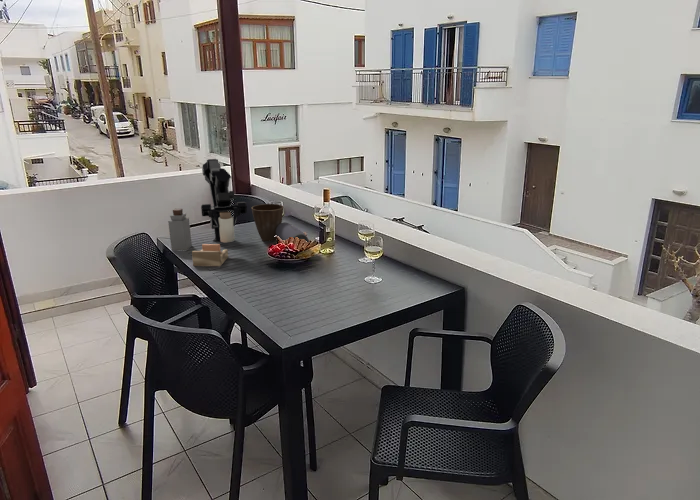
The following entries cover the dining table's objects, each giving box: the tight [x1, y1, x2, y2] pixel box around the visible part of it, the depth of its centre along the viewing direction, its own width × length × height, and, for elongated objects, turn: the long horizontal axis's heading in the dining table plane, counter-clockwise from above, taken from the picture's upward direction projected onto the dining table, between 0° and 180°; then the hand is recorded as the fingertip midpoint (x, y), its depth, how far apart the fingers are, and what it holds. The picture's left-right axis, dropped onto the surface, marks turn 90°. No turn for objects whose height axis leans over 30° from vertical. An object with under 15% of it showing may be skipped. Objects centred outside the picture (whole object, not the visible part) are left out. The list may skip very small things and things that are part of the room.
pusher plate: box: [201, 243, 222, 253], centre depth 195 cm, size 1×7×6 cm, turn 89°
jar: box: [218, 211, 236, 243], centre depth 198 cm, size 6×6×12 cm
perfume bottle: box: [167, 208, 193, 251], centre depth 210 cm, size 7×7×18 cm
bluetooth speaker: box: [276, 221, 310, 243], centre depth 211 cm, size 23×9×10 cm, turn 25°
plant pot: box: [251, 203, 284, 242], centre depth 223 cm, size 15×15×16 cm
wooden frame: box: [191, 248, 229, 267], centre depth 194 cm, size 12×11×6 cm
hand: (226, 226), depth 197 cm, fingers closed on jar, 6 cm apart
